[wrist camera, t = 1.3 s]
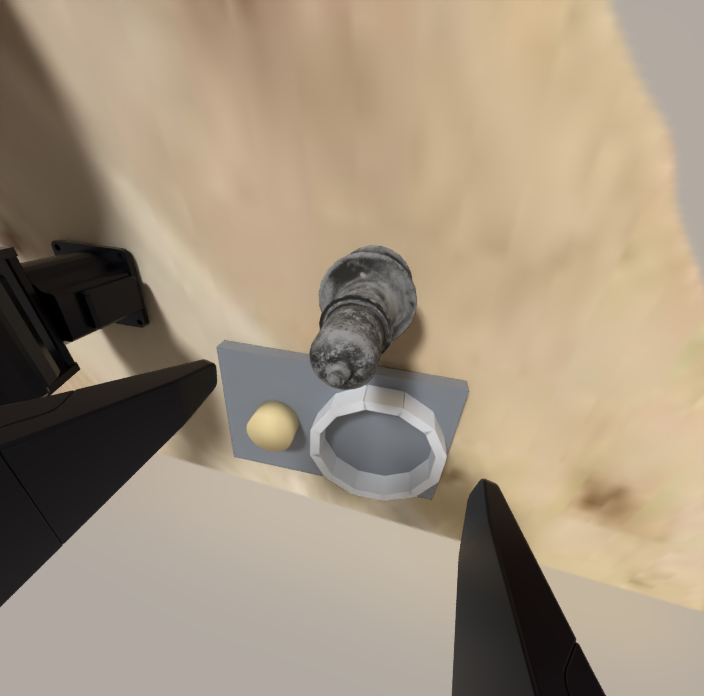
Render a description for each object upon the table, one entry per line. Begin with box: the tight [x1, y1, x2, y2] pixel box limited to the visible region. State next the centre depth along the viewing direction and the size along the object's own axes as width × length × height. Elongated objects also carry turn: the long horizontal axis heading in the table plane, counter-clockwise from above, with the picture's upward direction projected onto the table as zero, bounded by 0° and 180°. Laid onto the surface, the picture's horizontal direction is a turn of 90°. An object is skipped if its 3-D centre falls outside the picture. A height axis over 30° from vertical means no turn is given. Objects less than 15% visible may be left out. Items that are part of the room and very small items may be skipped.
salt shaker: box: [309, 246, 417, 390], centre depth 16 cm, size 6×6×12 cm
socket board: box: [217, 340, 469, 501], centre depth 26 cm, size 20×13×3 cm, turn 85°
